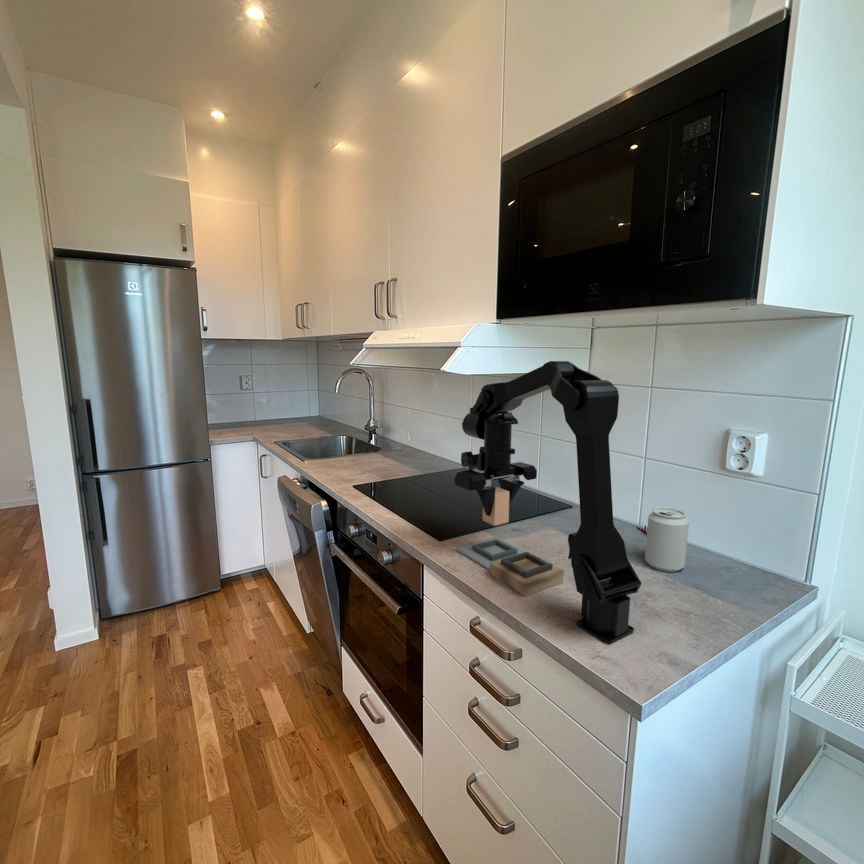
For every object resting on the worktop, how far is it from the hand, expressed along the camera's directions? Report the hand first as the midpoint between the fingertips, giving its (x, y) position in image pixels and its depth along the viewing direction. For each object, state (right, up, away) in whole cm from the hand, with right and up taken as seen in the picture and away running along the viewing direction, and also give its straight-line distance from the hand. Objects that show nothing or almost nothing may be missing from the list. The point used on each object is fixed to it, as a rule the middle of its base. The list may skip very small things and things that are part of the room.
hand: (495, 513), depth 99 cm
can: (+35, -11, -3) cm, 37 cm away
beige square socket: (+5, -11, -9) cm, 15 cm away
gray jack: (0, -9, +2) cm, 9 cm away
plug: (0, -2, 0) cm, 2 cm away
